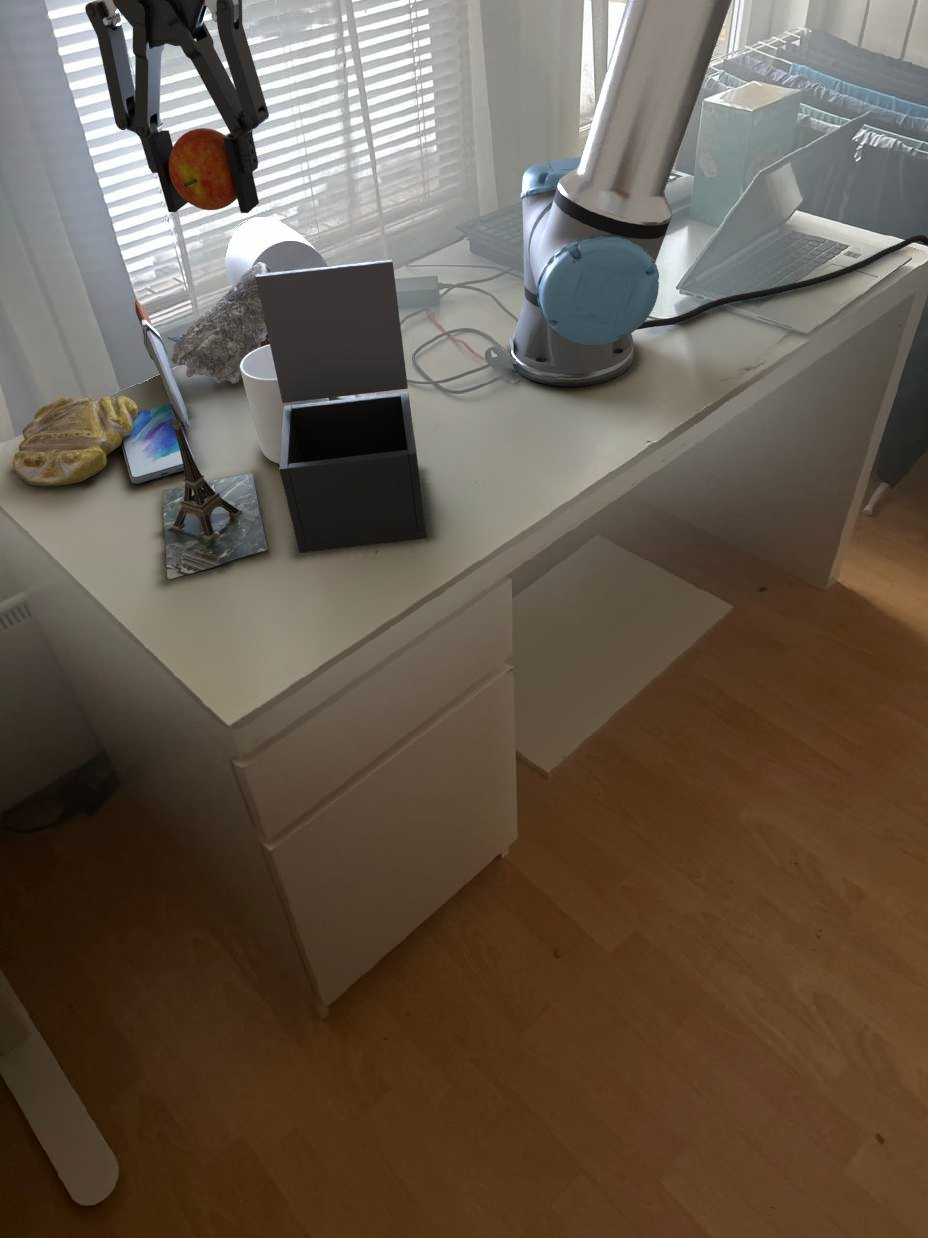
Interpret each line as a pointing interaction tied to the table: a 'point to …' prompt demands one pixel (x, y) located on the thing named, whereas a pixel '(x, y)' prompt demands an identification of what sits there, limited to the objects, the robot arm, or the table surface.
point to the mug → (266, 400)
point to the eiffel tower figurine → (209, 518)
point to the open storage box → (351, 472)
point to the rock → (225, 332)
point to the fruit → (202, 169)
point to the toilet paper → (268, 249)
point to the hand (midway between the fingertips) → (213, 207)
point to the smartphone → (153, 445)
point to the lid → (334, 330)
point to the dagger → (161, 362)
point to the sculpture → (72, 439)
